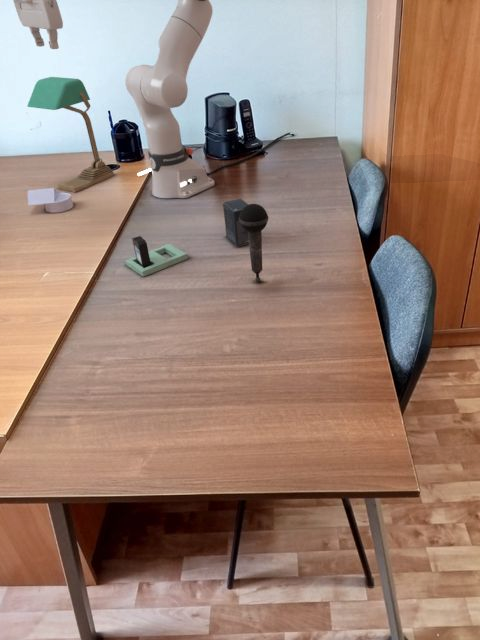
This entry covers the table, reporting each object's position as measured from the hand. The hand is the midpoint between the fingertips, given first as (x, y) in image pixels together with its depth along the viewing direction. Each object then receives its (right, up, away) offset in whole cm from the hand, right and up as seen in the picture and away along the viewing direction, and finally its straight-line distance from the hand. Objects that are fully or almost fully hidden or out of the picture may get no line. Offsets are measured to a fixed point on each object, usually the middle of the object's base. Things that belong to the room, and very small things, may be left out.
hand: (47, 47), depth 141 cm
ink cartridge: (+26, -59, 0) cm, 64 cm away
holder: (+29, -57, +2) cm, 64 cm away
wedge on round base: (-13, -33, +38) cm, 52 cm away
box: (+51, -49, +10) cm, 72 cm away
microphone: (+56, -64, -9) cm, 86 cm away
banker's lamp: (-9, -18, +56) cm, 60 cm away
